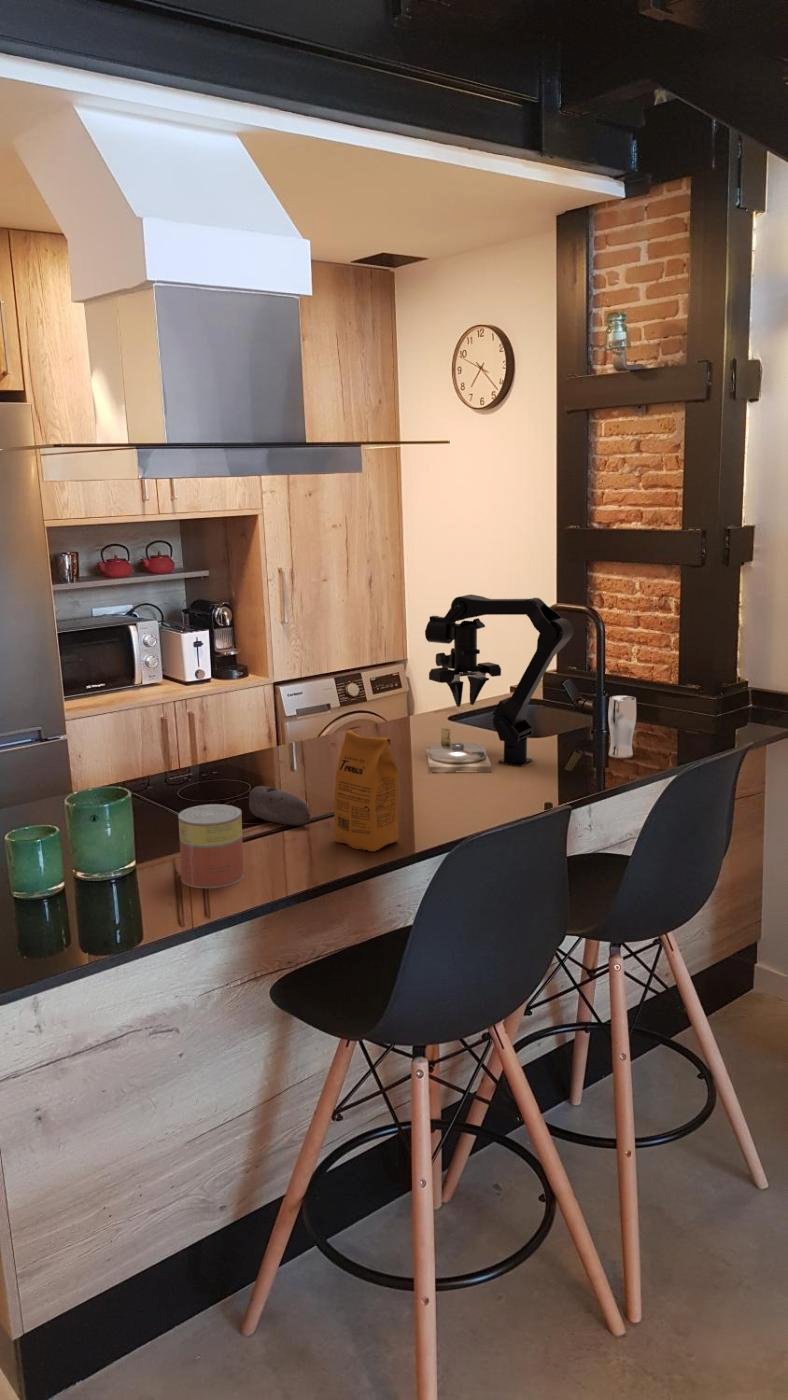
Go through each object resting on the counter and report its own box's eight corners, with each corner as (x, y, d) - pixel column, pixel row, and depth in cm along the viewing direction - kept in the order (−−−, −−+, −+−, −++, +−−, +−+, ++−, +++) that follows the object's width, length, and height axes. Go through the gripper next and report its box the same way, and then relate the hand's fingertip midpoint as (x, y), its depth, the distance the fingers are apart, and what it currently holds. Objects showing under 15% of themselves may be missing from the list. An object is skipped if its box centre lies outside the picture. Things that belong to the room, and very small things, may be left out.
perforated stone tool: (317, 826, 223) (316, 793, 222) (300, 832, 219) (299, 799, 218) (264, 813, 232) (263, 782, 231) (247, 819, 228) (245, 787, 226)
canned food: (247, 865, 201) (244, 803, 199) (240, 887, 190) (238, 822, 187) (186, 866, 201) (183, 804, 198) (176, 889, 190) (172, 824, 187)
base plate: (484, 753, 279) (484, 747, 279) (491, 772, 262) (491, 766, 261) (426, 754, 279) (426, 748, 279) (429, 773, 262) (429, 767, 261)
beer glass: (605, 757, 274) (607, 700, 271) (608, 751, 280) (610, 694, 277) (633, 759, 272) (635, 701, 269) (635, 752, 278) (637, 696, 275)
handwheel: (497, 758, 268) (497, 735, 266) (449, 766, 261) (450, 742, 259) (465, 746, 279) (465, 724, 278) (419, 753, 272) (419, 731, 271)
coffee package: (361, 829, 221) (360, 724, 216) (406, 842, 212) (405, 734, 208) (326, 841, 214) (323, 733, 209) (370, 856, 205) (369, 743, 201)
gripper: (477, 638, 284) (476, 696, 287) (417, 644, 274) (417, 704, 277) (502, 643, 274) (501, 703, 277) (441, 650, 265) (441, 712, 268)
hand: (465, 705), depth 275 cm, fingers open, 4 cm apart
